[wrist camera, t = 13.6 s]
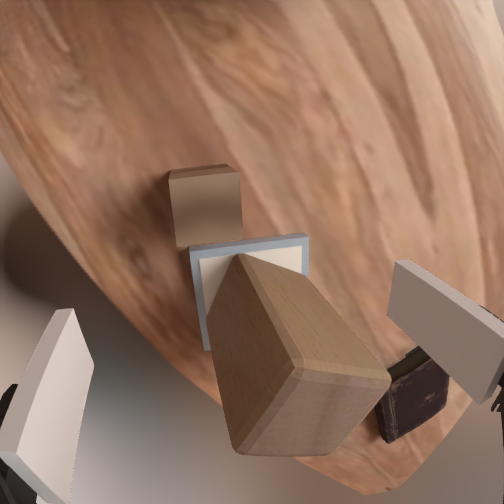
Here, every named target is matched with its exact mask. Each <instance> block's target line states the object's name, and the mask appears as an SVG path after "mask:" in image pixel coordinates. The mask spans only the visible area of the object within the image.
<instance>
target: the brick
mask: <svg viewBox="0 0 504 504" xmlns="http://www.w3.org/2000/svg"><path fill="white" fill-rule="evenodd" d="M169 189H170V198H171V206H172V214H173V222H174V229H175V237H176V244H177V247H181V246H189V245H196V244H204V243H212V242H219V241H227V240H235V239H243V224H242V209H241V193H240V178H239V172H238V171H237V170H235V169H233V168H232V167H230V166H228V165H227V164H220V165H210V166H200V167H191V168H183V169H175V170H171V172H170V176H169Z"/></svg>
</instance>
